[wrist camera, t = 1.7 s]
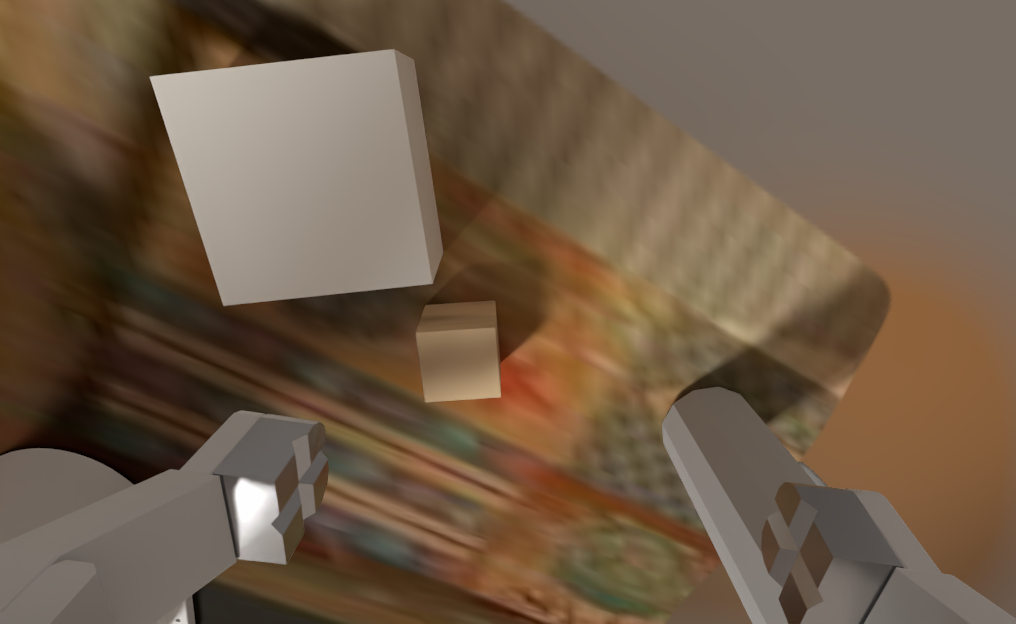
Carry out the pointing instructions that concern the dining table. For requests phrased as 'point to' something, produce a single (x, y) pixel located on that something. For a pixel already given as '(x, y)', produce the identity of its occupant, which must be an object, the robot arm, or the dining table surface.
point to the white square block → (306, 174)
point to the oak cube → (459, 351)
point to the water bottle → (734, 485)
